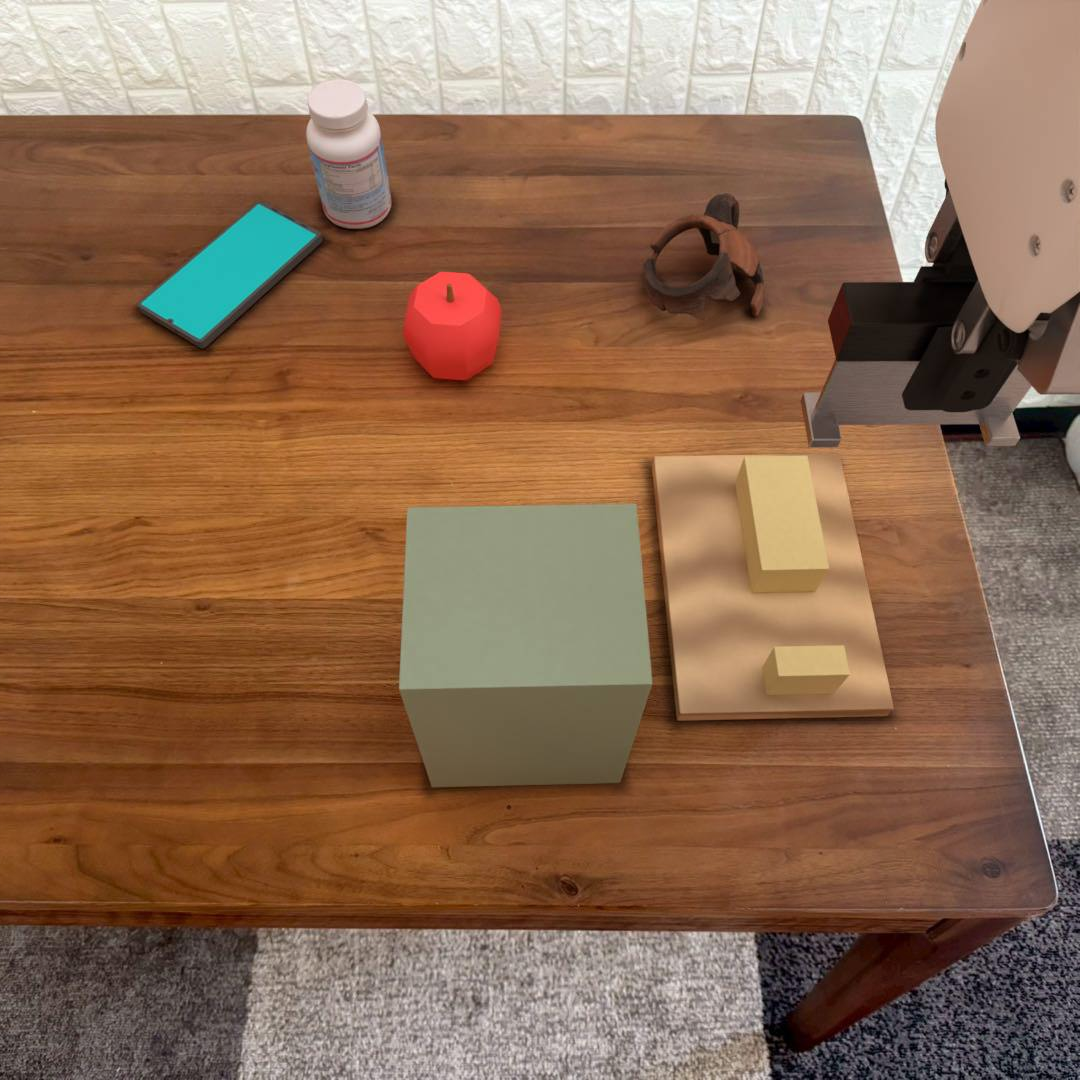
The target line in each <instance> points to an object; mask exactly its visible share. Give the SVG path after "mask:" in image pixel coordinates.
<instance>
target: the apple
mask: <svg viewBox="0 0 1080 1080" xmlns="http://www.w3.org/2000/svg"><path fill="white" fill-rule="evenodd" d="M502 314H503V311H502V307H501V305H500V302H499V298H497V297H496V296H495V295H494V294H493V293H491V291H489V290H488V289H487V288H486V287H485V286H484V285H483V284H482V283H481V282H480V281H479V280H477V278H476V277H474V276H473V275H471V273H467V272H454V271H453V272H452V271H439V272H437V273H436V274H434V275H433V276H431V277H429V278H426V279H425V280H424V281H422V282H421V283H419V284H417V285H416V286H415V287H414V288H413V289H412V290H411V291H410V292H409V295H408V301H407V305H406V310H405V316H404V322H403V330H402V336H403V339H404V341H405V343H406V345H407V347H408V349H409V351H410V353H411V355H412V357H413V359H414V360H415V361H416V362H417V363H418V364H419V365H420V366H421V367H422V368H423V369H424V370H425V371H426V372H427V373H428V374H429V375H430V376H431V377H432V378H433V379H442V380H443V379H444V380H456V381H468V380H470V379H472V378H473V377H474V376H476V375H477V374H479V373H480V372H482V371H484V370H485V369H487V368H488V367H490V366H491V365H493V364H494V360H495V356H496V352H497V347H498V344H499V339H500V329H501V323H502V316H503V315H502Z"/></svg>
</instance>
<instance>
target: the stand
mask: <svg viewBox="0 0 1080 1080" xmlns="http://www.w3.org/2000/svg"><path fill="white" fill-rule="evenodd" d="M639 525H640V524H639V513H638V504H637V503H590V504H585V503H584V504H582V503H581V504H534V505H533V504H531V505H530V504H529V505H528V504H527V505H525V504H524V505H523V504H522V505H521V504H520V505H475V506H474V505H472V506H470V505H468V506H467V505H465V506H463V505H462V506H413V507H412V506H410V507H409V506H408V507H407V508H406V524H405V526H406V527H405V546H404V568H403V589H402V591H403V592H402V610H401V612H402V613H401V631H400V652H399V653H400V654H399V675H398V691H399V694H400V696H401V699H402V703H403V706H404V709H405V711H406V714H407V717H408V720H409V723H410V727H411V729H412V732H413V735H414V739H415V741H416V744H417V747H418V750H419V752H420V756H421V759H422V762H423V765H424V768H425V771H426V774H427V777H428V780H429V783H430V786H431V788H463V787H464V788H465V787H469V788H470V787H504V786H505V787H507V786H508V787H509V786H546V785H550V786H551V785H589V784H590V785H591V784H592V785H593V784H620V783H621V781H622V778H623V775H624V772H625V769H626V767H627V763H628V759H629V757H630V753H631V750H632V747H633V744H634V741H635V738H636V735H637V732H638V729H639V726H640V723H641V720H642V717H643V713H644V710H645V707H646V705H647V702H648V698H649V696H650V692H651V690H652V686H653V673H652V661H651V654H650V652H651V650H650V640H649V629H648V628H649V627H648V616H647V606H646V595H645V593H646V592H645V584H644V583H645V582H644V572H643V561H642V547H641V537H640V527H639Z"/></svg>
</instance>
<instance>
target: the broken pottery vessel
mask: <svg viewBox="0 0 1080 1080" xmlns="http://www.w3.org/2000/svg"><path fill="white" fill-rule="evenodd" d="M739 222H740V203H739V201H738V200H737V199H736V197H735V196H734V195H732V194H731V193H719V194H716V195H714V196H713V197H711V198H710V200H709V201H708V203H707V204H706V207H705V211H704V213H703V214H691V215H685V216H683V217H680V218H678V219H676V220H674V221H672V222H670V223H668V224H667V225H666V226H665V227H663V228H662V229H661V230H660V231H659V232H658V233H657V234H656V235H655V237H654V238H653V239H652V240H651V242H650V243H649V246H650V248H651V250H652V251H653V252H652V254H651V257H648V258H647V259H646V260H645V262H643V266H642V268H643V269H642V270H643V274H644V275H643V276H644V285H643V287H644V291H645V294H646V296H647V297H648V299H649V301H650V302H651V304H653V305H654V306H655V307H657V308H658V309H659V310H660V311H661V312H665V311H667V313H669V314H673V315H677V314H681V315H683V314H684V315H689V316H692V317H694V318H696V319H699V320H701V321H705V316H704V310H705V305H706V304H705V303H706V297H709V298H710V299H713V300H717V301H718V300H719V301H721V300H725V301H729V302H731V301H734V300H736V299H737V298H738V297H740V295H741V292H740V290H739V288H738V286H736V277H735V275H734V271H733V267H732V266H734V267H735V272H736V273H739V274H742V275H744V276H746V277H748V279H750V280H751V281H752V282H753V284H754V285H755V289H754V291H753V295H752V298H751V300H750V302H749V305H750V307H751V313H752V316H753V317H755V318H757V317H758V316H759V315H760V313H761V310H762V307H763V302H764V276H763V269H762V267H761V262H760V260H759V257H758V254H757V252H756V249H755V248H754V247H753V245H752V243H751V242H750V239H748V237H747V236H746V235H745V234H744V232H743V233H742V232H741V231H739V230H738V229H739ZM692 229H697V230H698V231H699V234H700V235H701V237H702V239H703V243H704V246H705V249H706V254H707V255H709V256H717V259H716V261H715V263H714V264H713V266H712V268H711V269H710V270H709V271H708V272H707V273H706V274H705V275H704V276H703V277H701V278H700V279H698V280H696V282H694V283H690V284H689V285H684V286H669V285H667V284H665V283H663V282H662V281H660V279H659V278H658V277H657V268H656V262H657V259H658V257H659V255H660V254H661V252H662V251H663V249H665V247H666V246H667V245H668V244H669V243H670V242H671V241H672V240H673V239H674V238H676V237H677V236H679V235H680V234H682V233H684V232H686V231H690V230H692Z"/></svg>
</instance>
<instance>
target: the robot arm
mask: <svg viewBox="0 0 1080 1080" xmlns="http://www.w3.org/2000/svg"><path fill="white" fill-rule="evenodd" d="M934 123H935V125H934V126H935V129H934V130H935V131H934V132H935V142H936V148H937V152H938V156H939V160H940V163H941V167H942V171H943V174H944V177H945V178H944V189H945V197H944V200H943V201H942V204H941V206H940V208H939V210H938V211H937V214H936V216H935V218H934V220H933V222H932V224H931V226H930V229H929V231H928V233H927V235H926V237H925V242H924V257H925V260H926V262H927V263H928V264H932V265H931V266H929V265H928V266H927V265H924V266H923V265H922V266H920V268H919V269H918V272H917V274H916V276H915V278H914V280H913V282H976V284H975V286H974V288H973V289H972V291H971V293H970V295H969V297H968V298H967V300H966V302H965V304H964V306H963V307H962V309H961V311H960V313H959V315H958V316H957V318H956V320H955V322H954V324H953V326H946V327H938V329H937V331H936V332H935V334H934V336H933V338H932V340H931V342H930V343H929V345H928V347H927V349H926V351H925V353H924V354H923V356H922V358H921V360H920V362H919V363H918V365H917V367H916V369H915V371H914V372H913V374H912V376H911V378H910V380H909V382H908V383H907V385H906V387H905V389H904V391H903V393H902V398H903V402H904V406H905V408H906V409H907V410H942V411H945V412H968V411H972V410H980V409H983V408H985V407H987V406H989V405H990V404H991V402H992V401H993V399H994V398H995V396H996V395H997V394H998V392H999V391H1000V389H1001V388H1002V386H1003V385H1004V383H1005V382H1006V380H1007V379H1008V378H1009V376H1010V375H1011V373H1012V372H1013V370H1014V369H1015V367H1016V366H1017V364H1018V368H1017V370H1018V371H1019V372H1020V373H1021V374H1022V375H1023V376H1024V378H1025V379H1026V380H1027V381H1028V382H1029V383H1030V384H1031V386H1032V387H1031V388H1033V389H1034V390H1035V392H1036V393H1037V394H1039V395H1042V396H1043V395H1080V0H980V2H979V5H978V6H977V9H976V11H975V13H974V14H973V17H972V20H971V22H970V24H969V27H968V28H967V31H966V33H965V35H964V37H963V41H962V43H961V45H960V47H959V50H958V52H957V54H956V57H955V59H954V61H953V64H952V66H951V69H950V71H949V74H948V77H947V80H946V82H945V85H944V88H943V91H942V94H941V97H940V100H939V103H938V107H937V111H936V115H935V122H934Z"/></svg>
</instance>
